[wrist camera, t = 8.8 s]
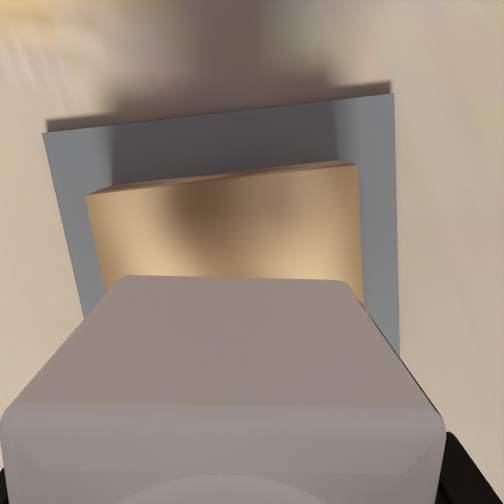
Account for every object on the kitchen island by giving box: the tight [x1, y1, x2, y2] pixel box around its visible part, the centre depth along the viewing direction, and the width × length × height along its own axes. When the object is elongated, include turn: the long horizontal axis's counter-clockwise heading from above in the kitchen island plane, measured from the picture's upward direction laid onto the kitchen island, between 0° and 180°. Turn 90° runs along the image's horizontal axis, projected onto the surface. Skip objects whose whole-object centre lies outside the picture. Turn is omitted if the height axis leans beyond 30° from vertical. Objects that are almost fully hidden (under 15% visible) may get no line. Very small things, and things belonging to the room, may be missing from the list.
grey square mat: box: [42, 93, 400, 357], centre depth 25 cm, size 18×18×1 cm
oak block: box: [85, 160, 364, 306], centre depth 22 cm, size 12×12×4 cm
